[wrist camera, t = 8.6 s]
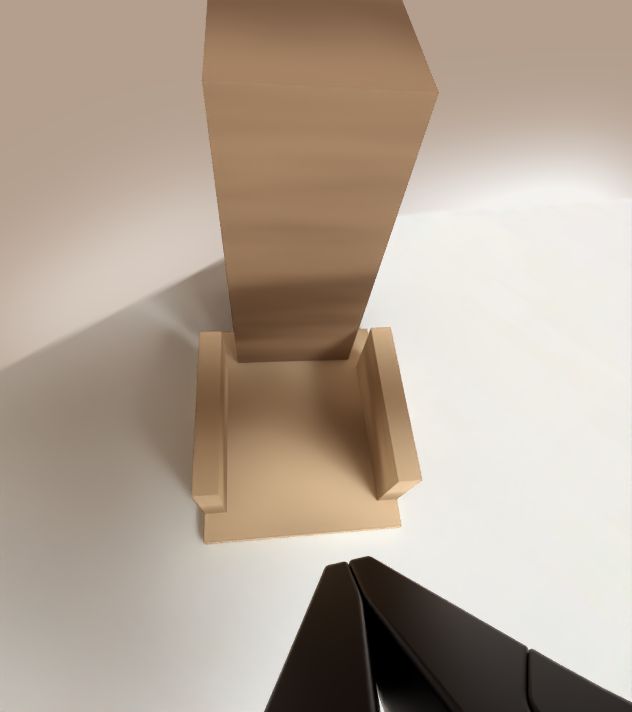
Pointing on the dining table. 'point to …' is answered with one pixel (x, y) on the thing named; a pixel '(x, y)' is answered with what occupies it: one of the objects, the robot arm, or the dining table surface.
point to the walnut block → (309, 161)
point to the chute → (300, 442)
